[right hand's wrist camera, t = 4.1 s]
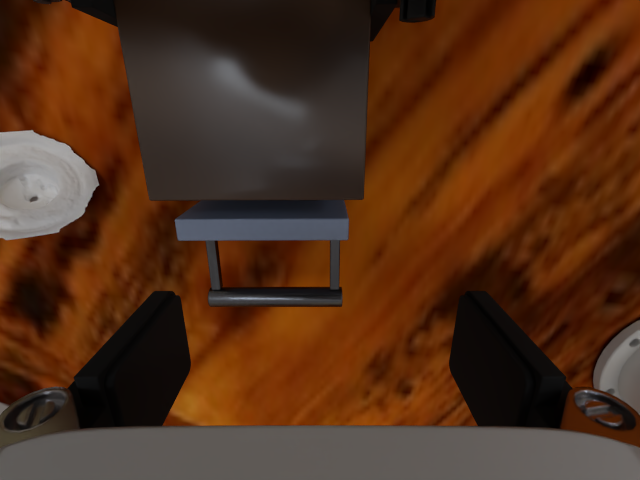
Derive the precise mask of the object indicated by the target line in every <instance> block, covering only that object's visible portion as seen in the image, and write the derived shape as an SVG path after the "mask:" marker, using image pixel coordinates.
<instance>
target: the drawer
mask: <svg viewBox="0 0 640 480" xmlns="http://www.w3.org/2000/svg"><path fill="white" fill-rule="evenodd" d="M175 225H176V231H177V237H178V240H179V241H204V240H206V248H207V256H208V263H209V271H210V279H211V288H210V290H209V294H208V303H209V306H210V307H342V287H339V266H340V240H348V234H349V218H348V214H347V210H346V206H345V202H344V200H202V201H200V202H199V203H197V204H196V205H194V206H193V207H192V208H190V209H189V210H187V211H186V212H185V213H183V214H182V215H180V216H179V217H178V218H176V219H175ZM217 240H330V287H222V286H223V284H222V275H221V266H220V258H219V249H218V241H217Z"/></svg>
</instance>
